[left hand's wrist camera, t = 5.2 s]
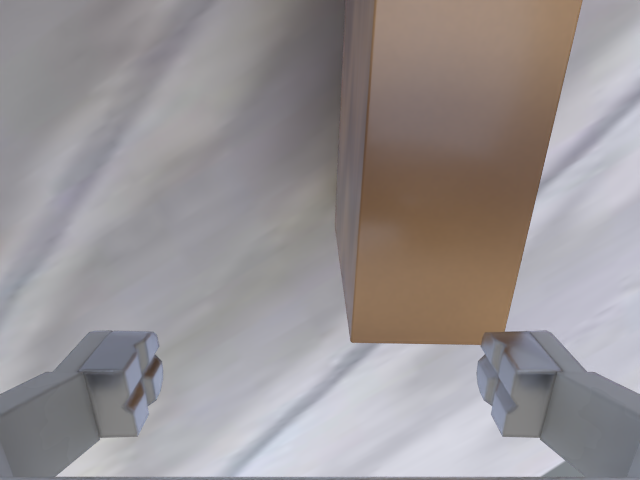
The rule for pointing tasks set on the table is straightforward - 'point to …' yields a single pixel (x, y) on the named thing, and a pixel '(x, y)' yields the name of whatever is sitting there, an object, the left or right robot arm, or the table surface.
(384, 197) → the box
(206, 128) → the table surface
